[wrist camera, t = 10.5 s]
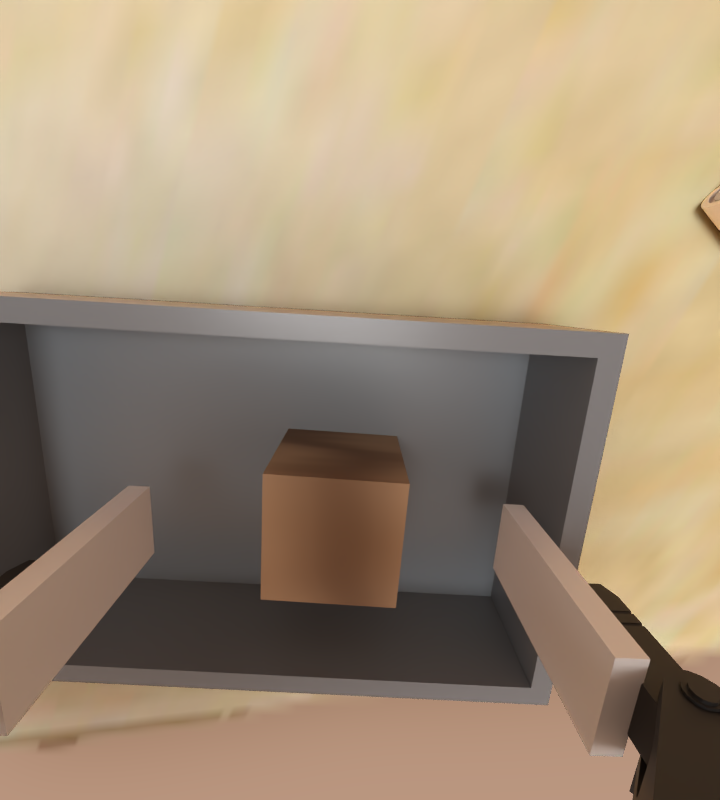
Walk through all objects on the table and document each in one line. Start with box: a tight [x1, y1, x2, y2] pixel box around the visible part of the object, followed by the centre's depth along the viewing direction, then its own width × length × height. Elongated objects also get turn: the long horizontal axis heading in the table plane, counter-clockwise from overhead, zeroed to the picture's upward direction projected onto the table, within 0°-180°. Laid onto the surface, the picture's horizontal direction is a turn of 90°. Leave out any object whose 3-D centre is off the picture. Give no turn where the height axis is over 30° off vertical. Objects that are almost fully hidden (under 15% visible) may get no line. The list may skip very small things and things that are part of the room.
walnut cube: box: [261, 429, 410, 608], centre depth 17 cm, size 5×5×5 cm
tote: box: [0, 292, 629, 705], centre depth 17 cm, size 24×15×6 cm, turn 87°
